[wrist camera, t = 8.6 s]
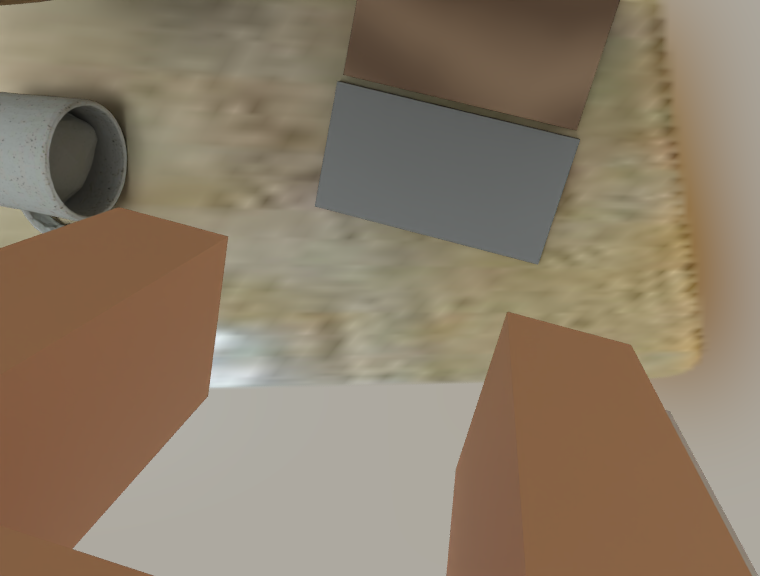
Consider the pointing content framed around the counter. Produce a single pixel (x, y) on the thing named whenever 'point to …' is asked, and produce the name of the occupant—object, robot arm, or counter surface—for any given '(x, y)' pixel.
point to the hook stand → (485, 52)
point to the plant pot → (19, 1)
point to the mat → (443, 172)
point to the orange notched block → (190, 388)
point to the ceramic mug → (59, 158)
